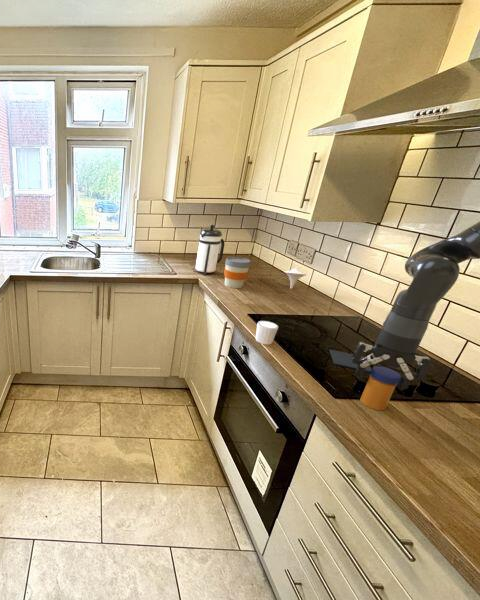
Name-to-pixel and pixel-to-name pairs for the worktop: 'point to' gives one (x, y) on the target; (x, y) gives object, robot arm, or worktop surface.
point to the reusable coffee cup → (236, 271)
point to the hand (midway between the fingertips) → (379, 382)
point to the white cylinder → (266, 332)
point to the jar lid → (385, 375)
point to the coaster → (345, 360)
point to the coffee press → (209, 250)
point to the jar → (377, 394)
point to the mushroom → (294, 276)
